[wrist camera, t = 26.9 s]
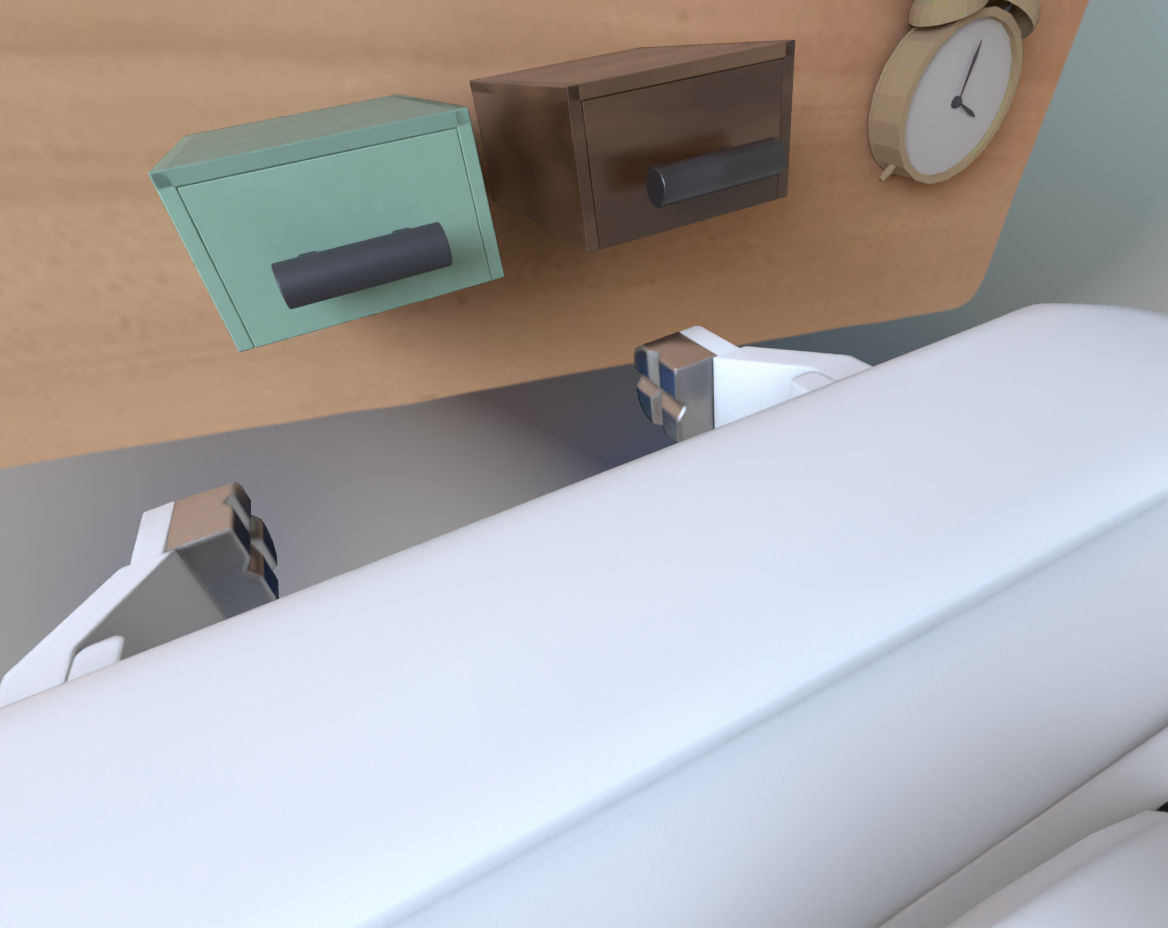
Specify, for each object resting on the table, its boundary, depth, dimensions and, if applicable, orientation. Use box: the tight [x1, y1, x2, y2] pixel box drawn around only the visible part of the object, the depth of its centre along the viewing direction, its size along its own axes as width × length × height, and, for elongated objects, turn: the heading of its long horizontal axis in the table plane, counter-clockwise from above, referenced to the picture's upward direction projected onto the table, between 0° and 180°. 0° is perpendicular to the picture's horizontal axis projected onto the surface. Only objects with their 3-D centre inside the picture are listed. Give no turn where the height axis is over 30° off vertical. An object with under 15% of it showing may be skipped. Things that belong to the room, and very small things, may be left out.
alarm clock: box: [868, 0, 1040, 184], centre depth 46 cm, size 11×5×15 cm
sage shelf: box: [148, 94, 504, 352], centre depth 28 cm, size 17×11×6 cm
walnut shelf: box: [470, 40, 795, 253], centre depth 32 cm, size 17×11×6 cm
